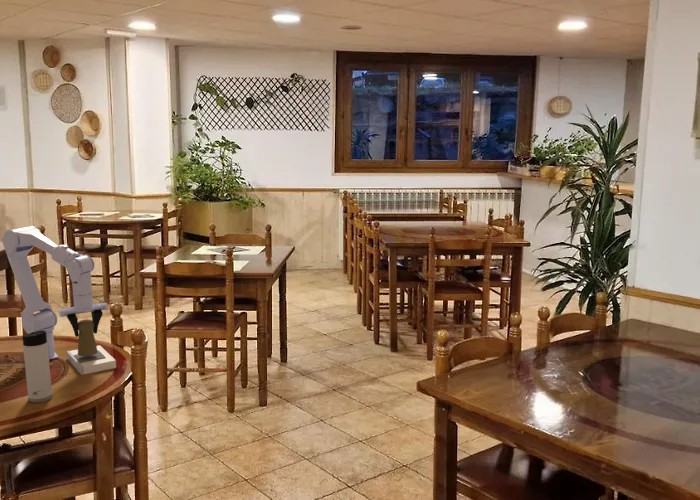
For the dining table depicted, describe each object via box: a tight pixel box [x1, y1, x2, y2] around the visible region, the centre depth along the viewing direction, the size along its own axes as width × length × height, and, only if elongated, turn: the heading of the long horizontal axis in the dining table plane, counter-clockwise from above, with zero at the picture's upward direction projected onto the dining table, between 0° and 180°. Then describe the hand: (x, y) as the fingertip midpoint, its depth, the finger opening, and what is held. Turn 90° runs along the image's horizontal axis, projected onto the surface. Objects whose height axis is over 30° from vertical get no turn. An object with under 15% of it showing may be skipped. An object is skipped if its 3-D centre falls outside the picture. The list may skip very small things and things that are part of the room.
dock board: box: [66, 345, 117, 376], centre depth 225 cm, size 18×11×3 cm, turn 35°
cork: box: [77, 318, 98, 356], centre depth 221 cm, size 6×6×11 cm
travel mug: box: [22, 331, 53, 403], centre depth 195 cm, size 6×7×20 cm
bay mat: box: [74, 350, 106, 363], centre depth 223 cm, size 8×8×1 cm
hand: (86, 334), depth 221 cm, fingers closed on cork, 5 cm apart
